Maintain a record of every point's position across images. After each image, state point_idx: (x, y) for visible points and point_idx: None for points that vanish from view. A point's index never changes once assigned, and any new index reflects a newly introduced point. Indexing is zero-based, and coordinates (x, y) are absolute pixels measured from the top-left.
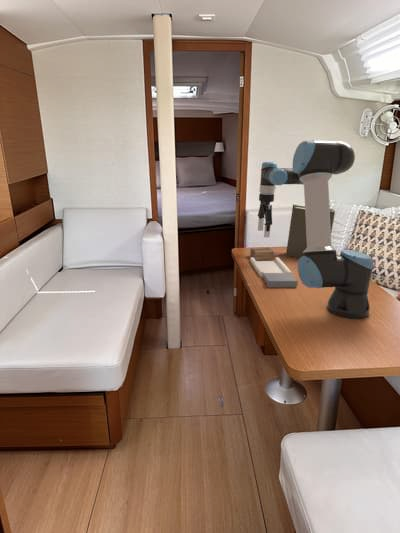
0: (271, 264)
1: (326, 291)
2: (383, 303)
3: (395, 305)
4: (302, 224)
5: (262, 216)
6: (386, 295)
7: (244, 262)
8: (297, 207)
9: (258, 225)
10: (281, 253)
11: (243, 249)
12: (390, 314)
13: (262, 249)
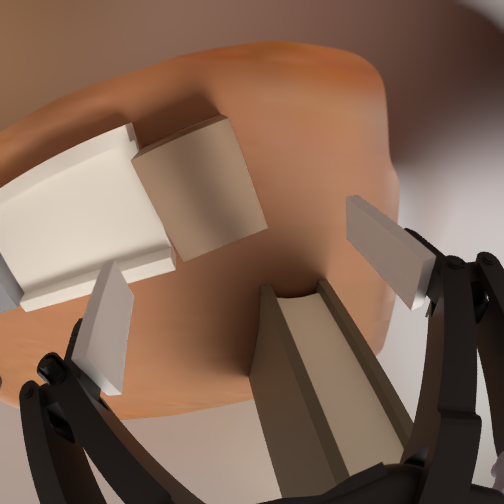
0: (111, 233)
1: (14, 357)
2: None
3: None
4: (301, 446)
5: (433, 316)
6: None
7: (132, 92)
8: None
9: (374, 219)
10: (317, 263)
11: (364, 91)
12: (8, 402)
13: (206, 197)
